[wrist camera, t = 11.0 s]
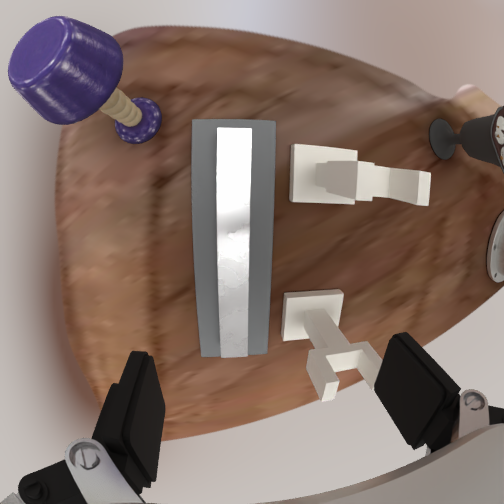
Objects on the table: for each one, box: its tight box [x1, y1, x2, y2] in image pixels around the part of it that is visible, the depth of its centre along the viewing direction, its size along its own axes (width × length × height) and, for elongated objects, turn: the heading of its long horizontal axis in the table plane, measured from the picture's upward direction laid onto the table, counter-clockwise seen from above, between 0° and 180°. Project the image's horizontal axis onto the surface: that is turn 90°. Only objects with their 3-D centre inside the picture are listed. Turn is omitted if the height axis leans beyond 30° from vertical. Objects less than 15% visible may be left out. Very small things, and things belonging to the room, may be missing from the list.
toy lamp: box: [8, 16, 162, 144], centre depth 13 cm, size 5×5×17 cm
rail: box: [217, 128, 251, 358], centre depth 23 cm, size 2×20×2 cm, turn 179°
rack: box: [281, 144, 431, 402], centre depth 21 cm, size 6×19×12 cm, turn 179°
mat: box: [192, 119, 276, 357], centre depth 25 cm, size 7×23×1 cm, turn 179°
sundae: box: [429, 106, 504, 173], centre depth 17 cm, size 7×7×15 cm
